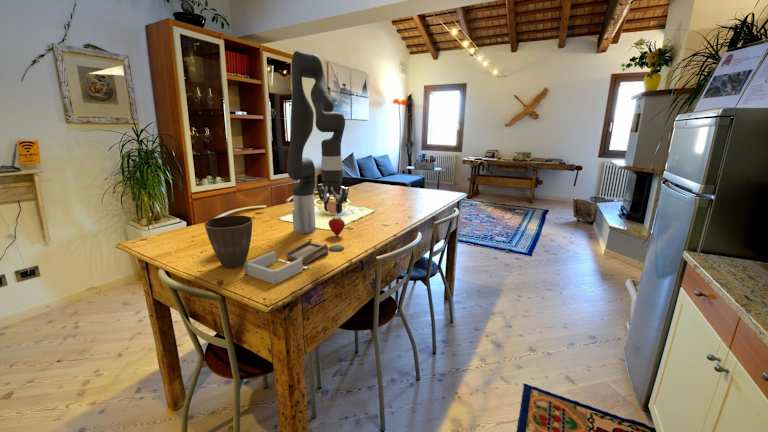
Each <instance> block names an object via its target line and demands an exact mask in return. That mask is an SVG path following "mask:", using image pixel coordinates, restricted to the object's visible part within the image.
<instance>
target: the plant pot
mask: <svg viewBox="0 0 768 432" xmlns="http://www.w3.org/2000/svg"><path fill="white" fill-rule="evenodd" d="M204 227H205V230H206V235H207V237H208V240H209V243H210V245H211V247H212V249H213V252H214V254H215V255H216V257H217V259H218V261H219V263H220V264H221V266H222V267H223V268H225V269H236V268H237V269H238V268H240V267H243V266H245V265H244V263H245V262H247V259H248V255H249V251H250V246H251V241H252V240H251V239H252V234H253V233H252V232H253V217H250V216H249V215H242V214H241V215H240V214H236V215H232V214H231V215H225V216H218V217H214V218H211V219H208V220H206V221H205V222H204Z"/></svg>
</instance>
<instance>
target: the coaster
mask: <svg viewBox="0 0 768 432" xmlns="http://www.w3.org/2000/svg"><path fill="white" fill-rule="evenodd" d="M344 249H345V246H343V245H341V244H335V245H334V244H333V245H330V246H328V251H331V252H336V253H337V252H341V251H343V250H344Z"/></svg>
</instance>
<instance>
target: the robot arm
mask: <svg viewBox="0 0 768 432" xmlns="http://www.w3.org/2000/svg"><path fill="white" fill-rule="evenodd" d="M303 78H306V79H313V80H314V81H315V82H314V84H313V86H312V88H311V90H310V100H311V102H312V104H313V107H314V110H313V107H312V105H311V103H310V101H309V99H308V98H307V96H306V92H305V90H304V87H303V86H304V85H303ZM326 81H327V80H326V76H325V71H324V67H323V63H322V60H321V58H320V57H319V55H318V54H315V53H310V52H305V51H300V50H296V51H294V52H293V54H292V56H291V108H290V109H291V110H290V137H289V148H288V156H287V161H286V162H287V164H286V170H287V171H286V172H287V174H288V177H289V178H290V179H291V180H292V181H298V183H297V184H296V185H295V186H293V188H292V203H293V209H292V222H293V223H292V225H293V226H292V227H293V231H295V232H296V233H298V234H309V233H313V232H315V231H316V230H317V229H316V212H315V209H316V208H315V194H314V193H315V192H314V190H315V188H316V189H317V194H318V197H319V200H320V201H323V208H324V211H325V212H327V213H329V211H328V210H327V203H328V202H329V201H331V200H330V199H331V197H332V196H333V200H334V199H335V201H336V203H337V204H336V213H335V214H337V215H339V214H342V212H343V203H346V202H347V200H348V195H349V192H350V191H349V190H350V188H349V187H348V186H346V187H345V186H343V183H342V182H343V161H342V140H343V135H344V132H345V131H344V130H345V127H346V119H345V118H346V117H345V116H344V114H343V113H341V112H339V111H334V109H335V108H334V107H335V106H334V101H333V100H332V97H331V95H330V92H329V89H328V87H327V83H326ZM314 112H315V114H314ZM314 118H315V121H314ZM314 122H315V127H316V129H317V130H318V131H319V132H321V133H333V134H332V135H331V137H328V138H326V139H323V140H322V141H321V162H320V163H321V180H322V181H323V182H322V183H319V184H316V167H315V163H314V161H313V159H311V158H309V157H303V154H304V148H305V146H306V143H307V142H308V141H309V138H310V136H311V135H312V132H313V129H314Z"/></svg>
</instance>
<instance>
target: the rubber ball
mask: <svg viewBox="0 0 768 432" xmlns="http://www.w3.org/2000/svg"><path fill="white" fill-rule="evenodd" d="M336 204H337V203H336V200H334V199H332V200H329V202H328V203H327V210H328V213H330V214H337V213H336Z"/></svg>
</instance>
